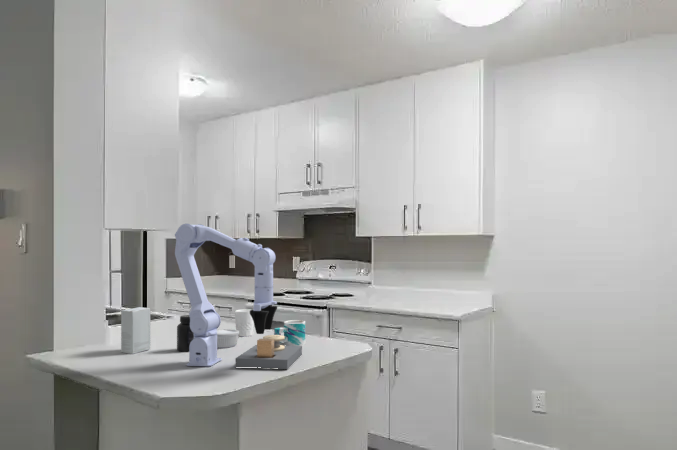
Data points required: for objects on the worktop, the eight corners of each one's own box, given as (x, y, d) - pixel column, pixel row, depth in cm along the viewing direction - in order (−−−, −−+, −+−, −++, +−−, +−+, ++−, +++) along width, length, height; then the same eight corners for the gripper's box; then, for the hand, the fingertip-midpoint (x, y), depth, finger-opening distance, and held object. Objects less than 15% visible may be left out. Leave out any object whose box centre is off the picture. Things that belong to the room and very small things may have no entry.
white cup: (231, 336, 207) (231, 311, 208) (240, 333, 215) (240, 308, 215) (249, 337, 205) (249, 312, 205) (257, 334, 213) (257, 309, 213)
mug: (309, 344, 190) (309, 321, 191) (281, 349, 183) (281, 325, 183) (297, 341, 197) (297, 319, 197) (270, 345, 190) (270, 322, 190)
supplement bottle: (172, 351, 181) (172, 316, 181) (186, 347, 187) (186, 314, 187) (187, 352, 177) (187, 317, 178) (201, 349, 183) (201, 315, 184)
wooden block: (271, 367, 156) (271, 340, 157) (257, 367, 157) (257, 340, 157) (274, 365, 159) (274, 338, 160) (260, 364, 160) (260, 338, 160)
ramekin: (244, 343, 193) (244, 329, 194) (230, 349, 183) (230, 334, 183) (217, 342, 196) (217, 328, 197) (201, 348, 186) (201, 333, 186)
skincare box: (139, 348, 186) (139, 306, 186) (151, 349, 183) (151, 307, 183) (119, 352, 178) (120, 309, 179) (132, 354, 175) (132, 310, 176)
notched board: (287, 369, 153) (287, 346, 153) (235, 368, 156) (235, 344, 156) (301, 355, 173) (301, 334, 173) (255, 353, 175) (255, 333, 175)
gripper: (269, 289, 152) (269, 336, 151) (282, 285, 166) (282, 327, 166) (246, 289, 153) (246, 335, 152) (261, 285, 167) (261, 327, 167)
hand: (263, 331), depth 159 cm, fingers open, 7 cm apart
